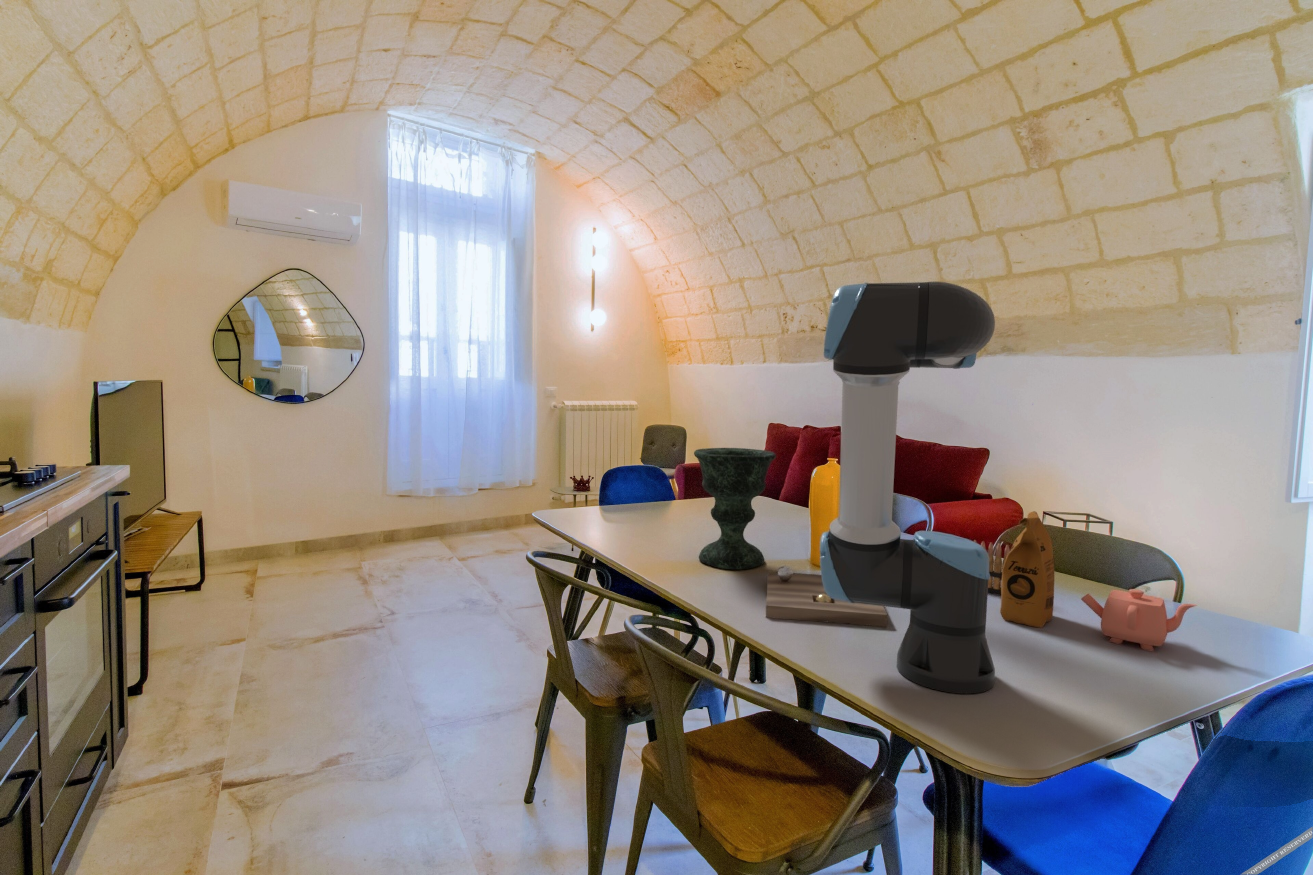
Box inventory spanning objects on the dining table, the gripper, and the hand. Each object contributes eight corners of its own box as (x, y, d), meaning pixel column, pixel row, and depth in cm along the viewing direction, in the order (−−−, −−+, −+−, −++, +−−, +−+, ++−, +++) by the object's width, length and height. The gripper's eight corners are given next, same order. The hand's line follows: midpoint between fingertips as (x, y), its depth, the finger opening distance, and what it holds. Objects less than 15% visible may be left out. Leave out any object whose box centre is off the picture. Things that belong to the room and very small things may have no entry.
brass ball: (831, 614, 143) (832, 604, 141) (814, 613, 143) (815, 602, 141) (830, 601, 145) (831, 591, 143) (814, 599, 146) (815, 589, 144)
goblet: (681, 567, 175) (684, 453, 172) (701, 547, 196) (704, 446, 194) (766, 576, 168) (770, 457, 166) (777, 554, 190) (780, 449, 187)
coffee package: (991, 618, 140) (997, 515, 138) (1007, 604, 150) (1013, 507, 148) (1044, 631, 134) (1052, 522, 132) (1058, 615, 143) (1065, 514, 141)
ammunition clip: (1009, 594, 157) (1012, 544, 156) (1007, 596, 156) (1011, 545, 155) (961, 585, 164) (964, 537, 163) (959, 587, 162) (962, 538, 161)
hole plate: (886, 626, 134) (887, 614, 134) (765, 617, 138) (766, 605, 138) (869, 588, 160) (869, 578, 159) (767, 581, 164) (768, 571, 164)
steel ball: (792, 583, 154) (793, 568, 154) (777, 582, 155) (777, 567, 154) (792, 578, 157) (792, 564, 157) (777, 577, 158) (777, 563, 158)
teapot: (1115, 652, 123) (1119, 599, 122) (1076, 629, 135) (1079, 580, 134) (1193, 655, 123) (1198, 601, 122) (1147, 631, 135) (1151, 582, 134)
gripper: (902, 395, 144) (897, 503, 146) (890, 395, 157) (885, 494, 159) (866, 395, 145) (862, 502, 147) (857, 394, 158) (852, 493, 160)
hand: (874, 498), depth 153 cm, fingers closed
